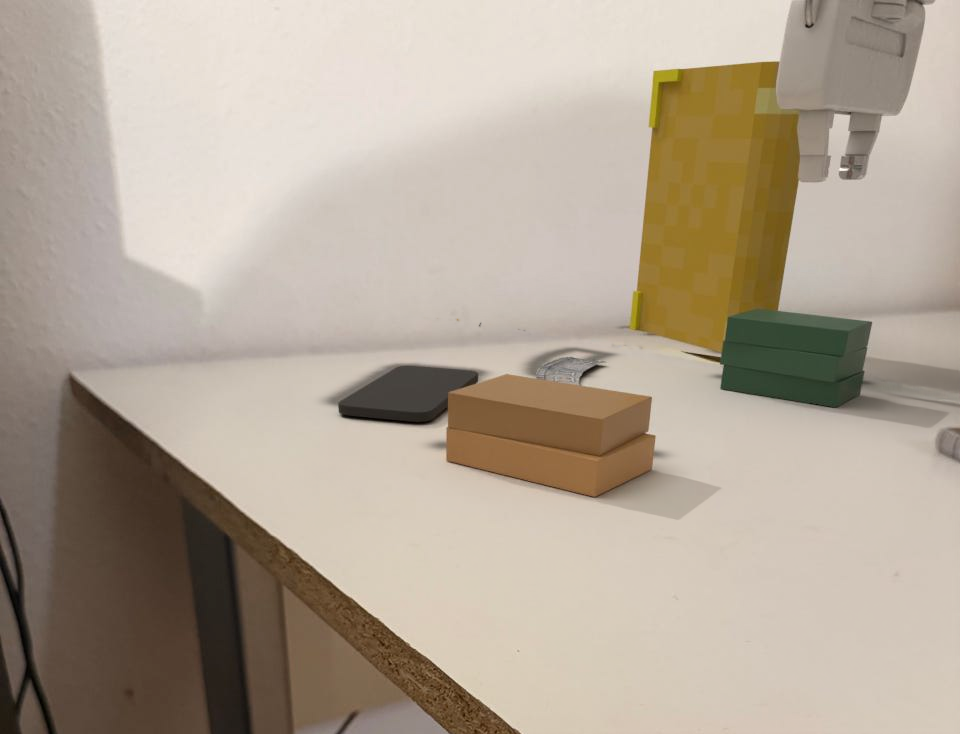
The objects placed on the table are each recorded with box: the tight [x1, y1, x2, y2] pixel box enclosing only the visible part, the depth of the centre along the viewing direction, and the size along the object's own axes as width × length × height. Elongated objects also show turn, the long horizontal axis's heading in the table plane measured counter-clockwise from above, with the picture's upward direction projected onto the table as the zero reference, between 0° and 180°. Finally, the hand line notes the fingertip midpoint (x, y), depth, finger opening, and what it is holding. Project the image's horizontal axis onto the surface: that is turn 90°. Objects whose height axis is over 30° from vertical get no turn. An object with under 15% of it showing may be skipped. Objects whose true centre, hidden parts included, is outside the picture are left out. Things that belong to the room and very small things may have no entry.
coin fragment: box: [535, 356, 607, 385], centre depth 86 cm, size 13×5×1 cm, turn 160°
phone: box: [337, 365, 479, 423], centre depth 75 cm, size 7×1×15 cm
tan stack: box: [445, 373, 657, 498], centre depth 60 cm, size 11×8×4 cm
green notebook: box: [725, 309, 873, 357], centre depth 79 cm, size 10×6×2 cm, turn 54°
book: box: [629, 60, 801, 363], centre depth 92 cm, size 17×7×25 cm, turn 27°
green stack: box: [719, 340, 868, 408], centre depth 81 cm, size 10×7×4 cm
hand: (832, 181), depth 74 cm, fingers open, 8 cm apart
